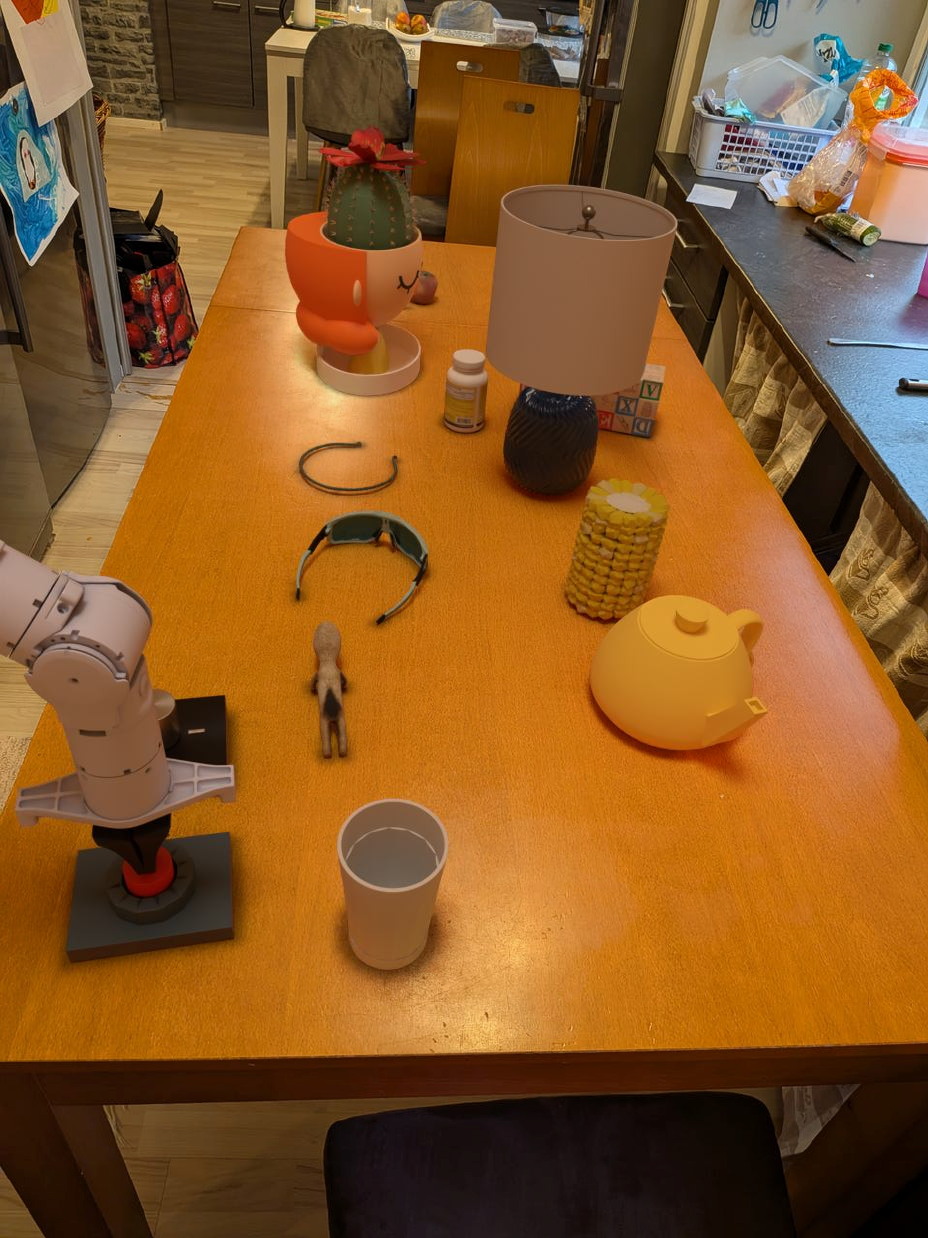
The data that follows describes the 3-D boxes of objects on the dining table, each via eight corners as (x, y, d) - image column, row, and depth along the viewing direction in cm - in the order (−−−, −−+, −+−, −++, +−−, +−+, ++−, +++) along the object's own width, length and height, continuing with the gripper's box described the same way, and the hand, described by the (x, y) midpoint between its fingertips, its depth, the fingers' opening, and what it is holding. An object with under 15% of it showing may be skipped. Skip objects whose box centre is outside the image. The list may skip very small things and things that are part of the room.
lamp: (470, 515, 118) (501, 223, 94) (473, 439, 134) (501, 172, 110) (622, 528, 119) (692, 242, 95) (608, 451, 134) (665, 188, 110)
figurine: (353, 765, 87) (342, 639, 96) (354, 743, 83) (342, 614, 92) (315, 769, 86) (307, 641, 95) (314, 746, 83) (306, 616, 91)
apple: (400, 306, 170) (401, 275, 166) (410, 292, 176) (412, 261, 172) (430, 312, 169) (432, 280, 165) (440, 297, 175) (442, 266, 171)
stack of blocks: (653, 420, 143) (671, 347, 135) (650, 439, 138) (668, 363, 130) (522, 396, 146) (532, 322, 138) (515, 413, 141) (525, 338, 133)
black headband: (415, 467, 126) (416, 461, 125) (355, 507, 117) (355, 500, 116) (341, 435, 131) (341, 429, 130) (278, 470, 122) (278, 464, 121)
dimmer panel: (89, 804, 79) (82, 781, 77) (97, 728, 85) (91, 705, 83) (229, 788, 81) (226, 765, 79) (227, 716, 88) (224, 693, 86)
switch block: (70, 963, 68) (60, 938, 65) (82, 862, 74) (73, 836, 72) (233, 938, 70) (229, 914, 68) (231, 843, 77) (227, 818, 75)
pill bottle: (469, 411, 140) (475, 343, 133) (491, 429, 136) (499, 360, 129) (435, 419, 137) (440, 350, 130) (456, 437, 134) (463, 367, 126)
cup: (347, 990, 68) (347, 902, 60) (330, 899, 74) (328, 808, 66) (449, 968, 70) (461, 880, 62) (425, 880, 76) (433, 790, 68)
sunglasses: (442, 556, 110) (442, 526, 107) (394, 641, 101) (393, 611, 97) (338, 527, 113) (335, 496, 110) (281, 606, 104) (276, 576, 100)
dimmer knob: (140, 718, 83) (133, 685, 80) (185, 720, 83) (179, 687, 80) (129, 751, 80) (121, 718, 77) (175, 753, 80) (168, 720, 77)
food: (554, 619, 106) (585, 579, 113) (651, 638, 100) (677, 594, 108) (548, 501, 98) (582, 466, 105) (653, 514, 92) (681, 476, 100)
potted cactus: (427, 345, 157) (440, 123, 135) (408, 403, 140) (419, 160, 118) (307, 330, 158) (299, 106, 135) (273, 386, 141) (258, 141, 118)
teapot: (557, 667, 97) (577, 574, 89) (700, 631, 104) (730, 541, 95) (659, 808, 84) (693, 714, 75) (815, 756, 90) (862, 664, 82)
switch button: (124, 900, 68) (120, 888, 67) (127, 861, 71) (124, 848, 70) (173, 894, 69) (170, 881, 68) (174, 855, 72) (172, 842, 71)
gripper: (227, 692, 65) (242, 809, 73) (9, 712, 62) (52, 832, 70) (229, 767, 59) (244, 883, 68) (-8, 793, 56) (40, 911, 65)
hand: (147, 862), depth 69 cm, fingers closed
